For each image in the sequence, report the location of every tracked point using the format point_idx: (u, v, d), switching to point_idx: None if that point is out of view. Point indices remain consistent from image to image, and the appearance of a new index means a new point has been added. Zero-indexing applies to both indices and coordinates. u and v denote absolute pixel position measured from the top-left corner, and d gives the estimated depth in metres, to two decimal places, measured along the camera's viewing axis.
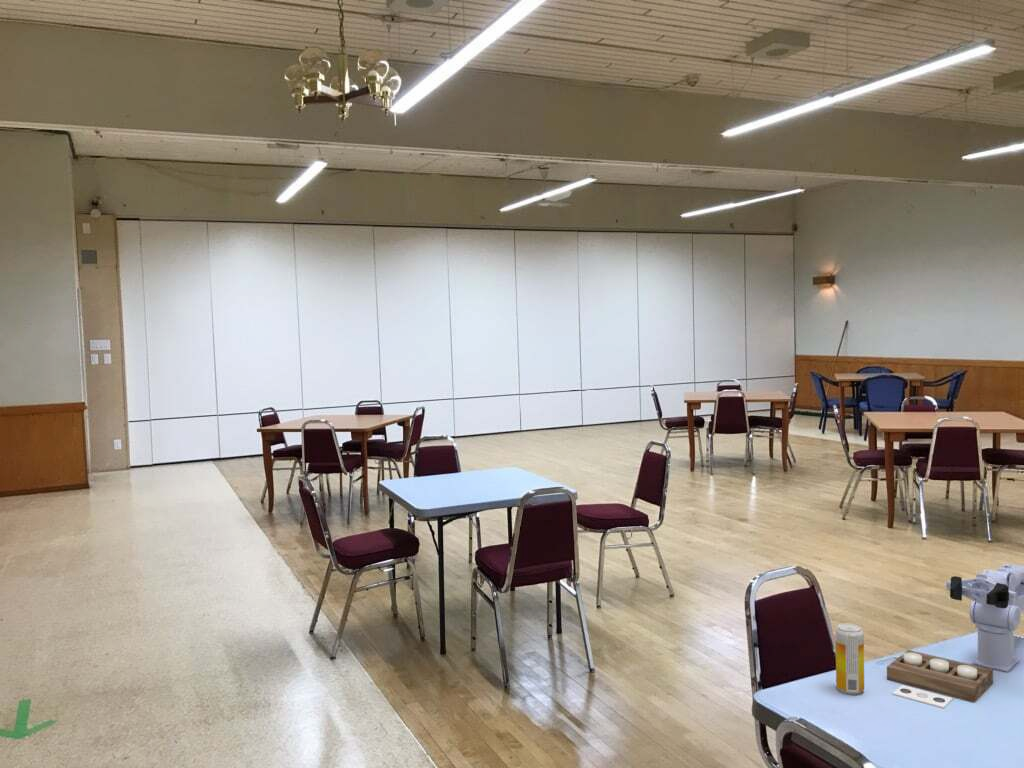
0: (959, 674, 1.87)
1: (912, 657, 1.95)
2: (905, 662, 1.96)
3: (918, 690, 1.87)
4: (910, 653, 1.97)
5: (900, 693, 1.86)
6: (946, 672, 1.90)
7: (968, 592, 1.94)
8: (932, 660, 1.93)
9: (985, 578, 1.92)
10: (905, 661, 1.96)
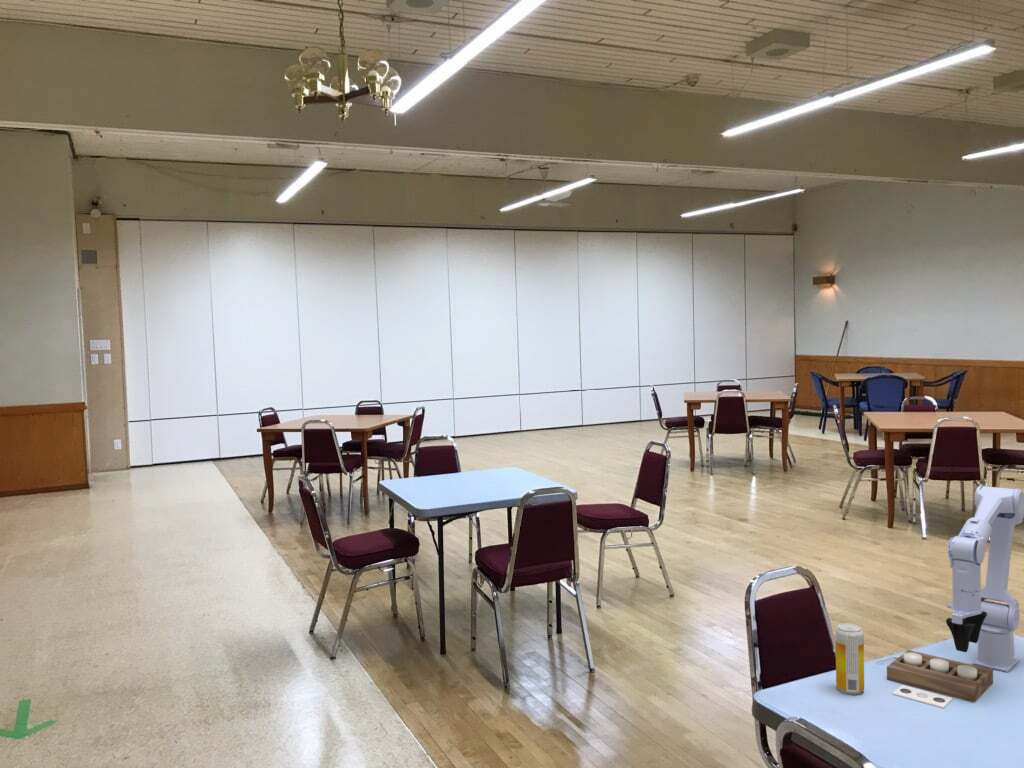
0: (959, 674, 1.87)
1: (912, 657, 1.95)
2: (905, 662, 1.96)
3: (918, 690, 1.87)
4: (910, 653, 1.97)
5: (900, 693, 1.86)
6: (946, 672, 1.90)
7: None
8: (932, 660, 1.93)
9: None
10: (905, 661, 1.96)
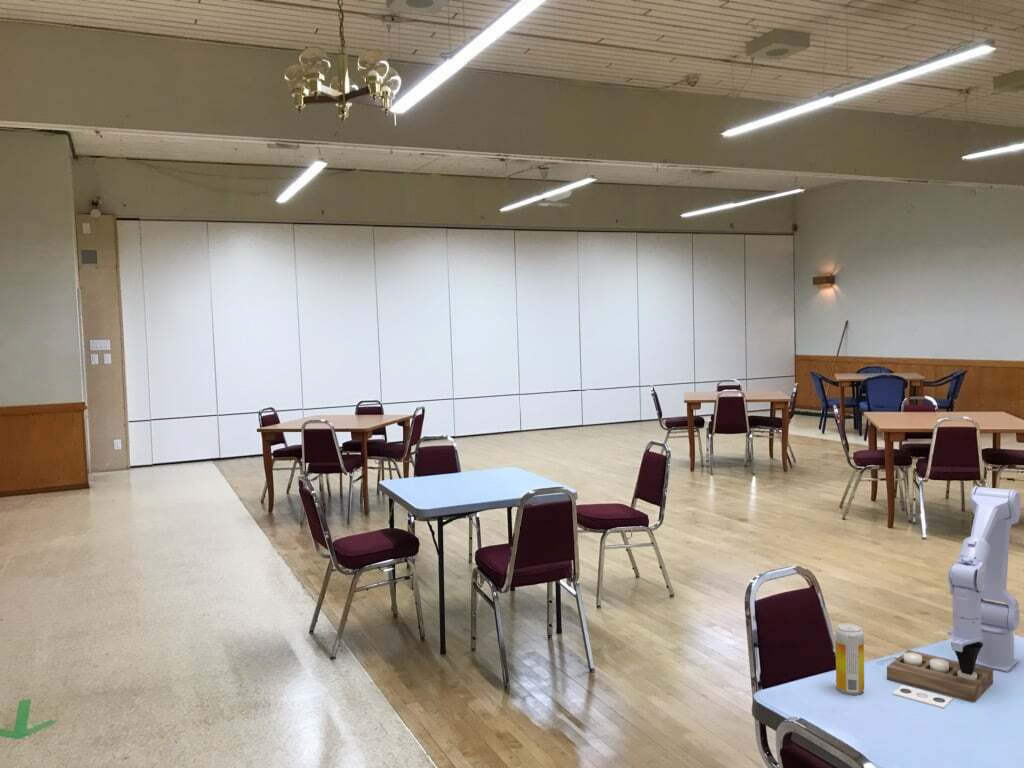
0: None
1: (912, 657, 1.95)
2: (905, 662, 1.96)
3: (918, 690, 1.87)
4: (910, 653, 1.97)
5: (900, 693, 1.86)
6: (946, 672, 1.90)
7: None
8: (932, 660, 1.93)
9: (951, 634, 1.89)
10: (905, 661, 1.96)
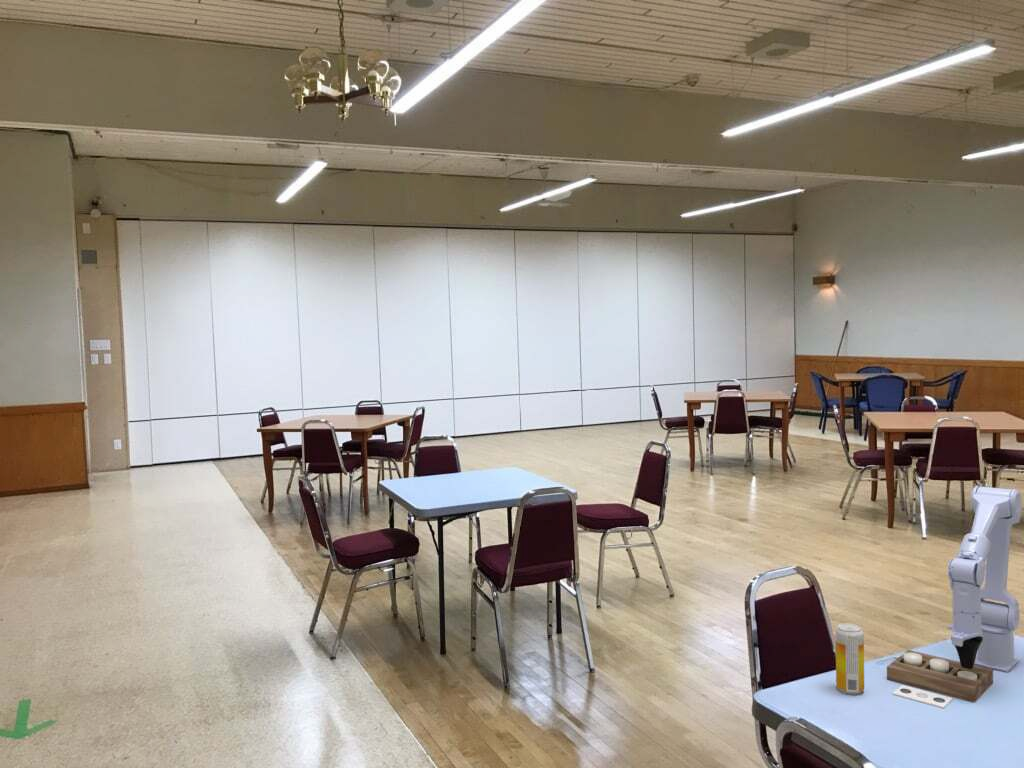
0: None
1: (912, 657, 1.95)
2: (905, 662, 1.96)
3: (918, 690, 1.87)
4: (910, 653, 1.97)
5: (900, 693, 1.86)
6: (946, 672, 1.90)
7: None
8: (932, 660, 1.93)
9: (951, 629, 1.89)
10: (905, 661, 1.96)
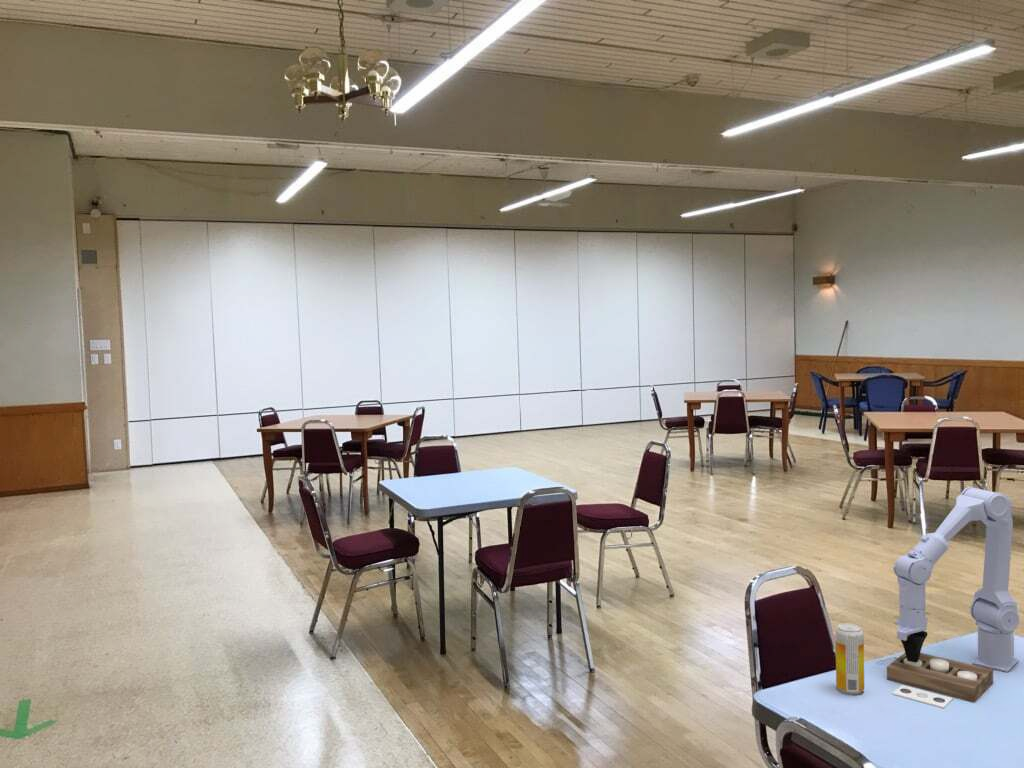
0: None
1: (912, 662, 1.95)
2: None
3: (918, 690, 1.87)
4: None
5: (900, 693, 1.86)
6: (946, 672, 1.90)
7: None
8: (932, 660, 1.93)
9: (897, 624, 1.97)
10: None
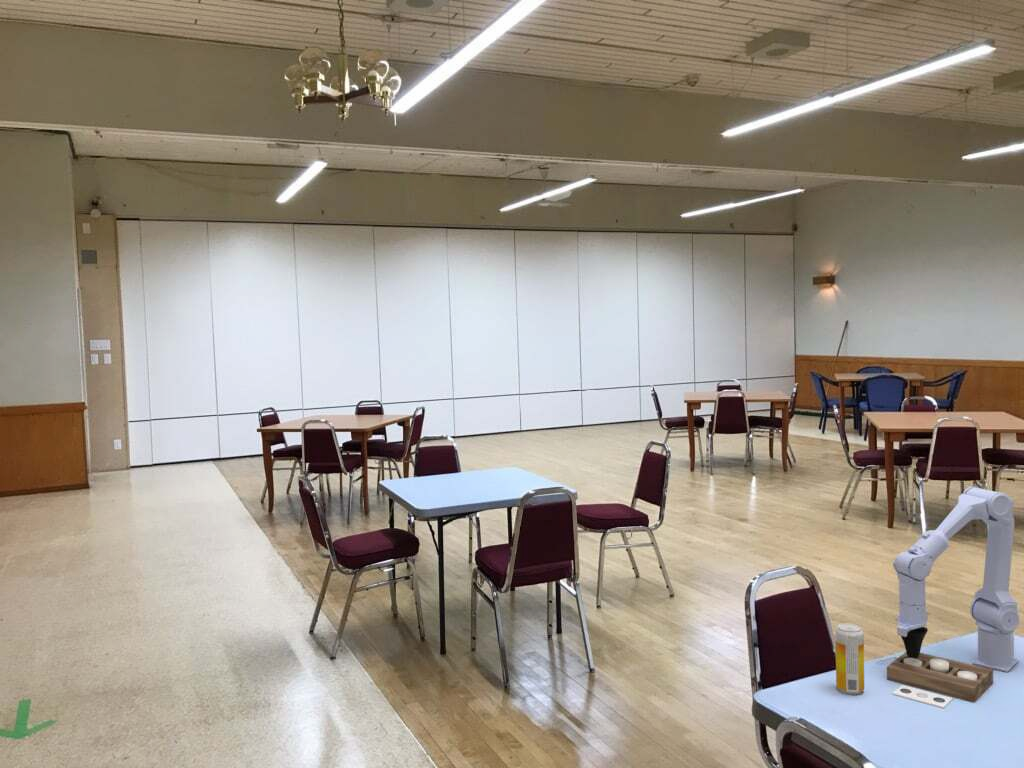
0: None
1: (912, 662, 1.95)
2: None
3: (918, 690, 1.87)
4: (910, 659, 1.97)
5: (900, 693, 1.86)
6: (946, 672, 1.90)
7: None
8: (932, 660, 1.93)
9: (897, 620, 1.97)
10: None
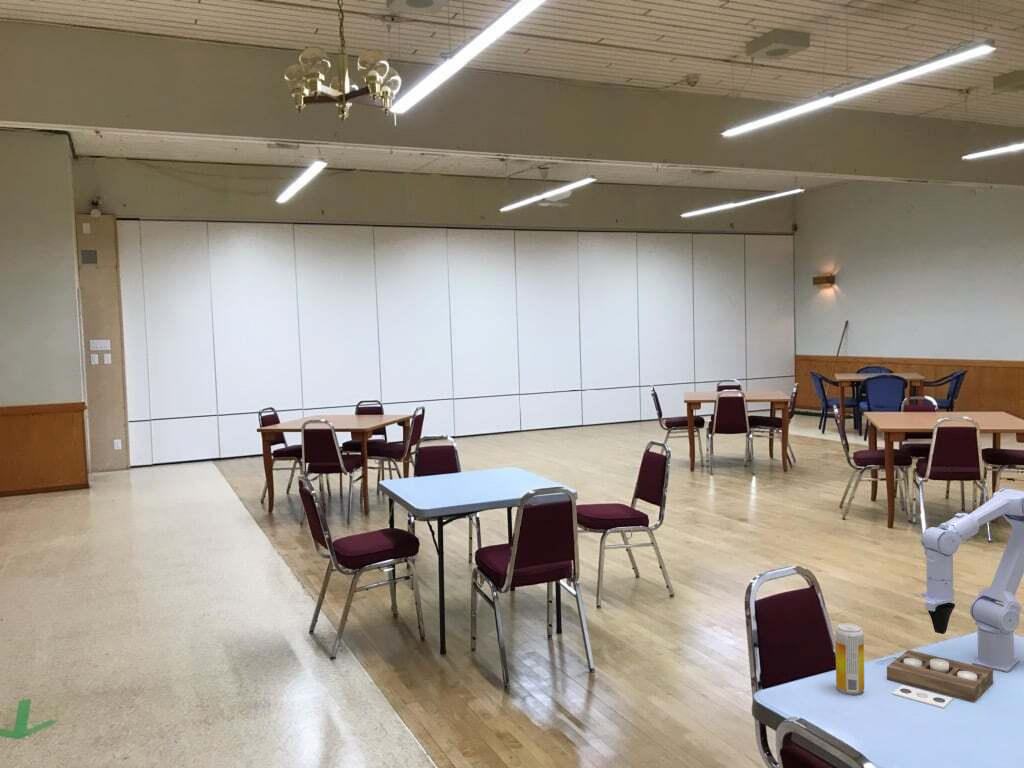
0: None
1: (912, 662, 1.95)
2: None
3: (918, 690, 1.87)
4: (910, 659, 1.97)
5: (900, 693, 1.86)
6: (946, 672, 1.90)
7: None
8: (932, 660, 1.93)
9: (925, 596, 1.98)
10: None
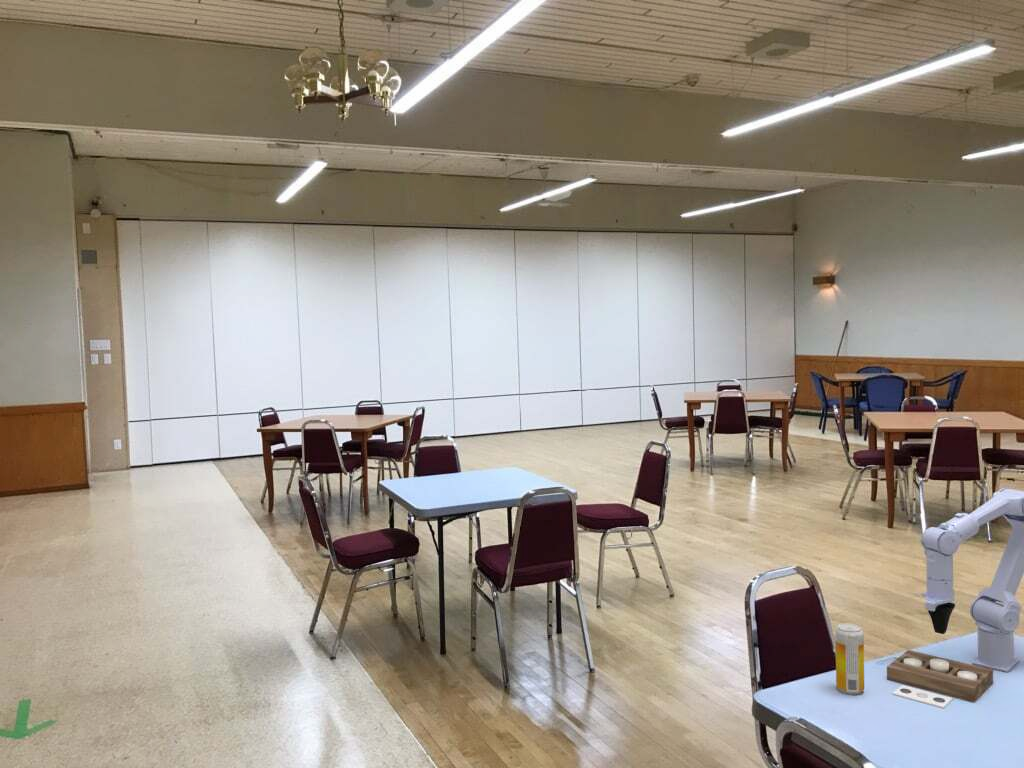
0: None
1: (912, 662, 1.95)
2: None
3: (918, 690, 1.87)
4: (910, 659, 1.97)
5: (900, 693, 1.86)
6: (946, 672, 1.90)
7: None
8: (932, 660, 1.93)
9: (925, 596, 1.98)
10: None
